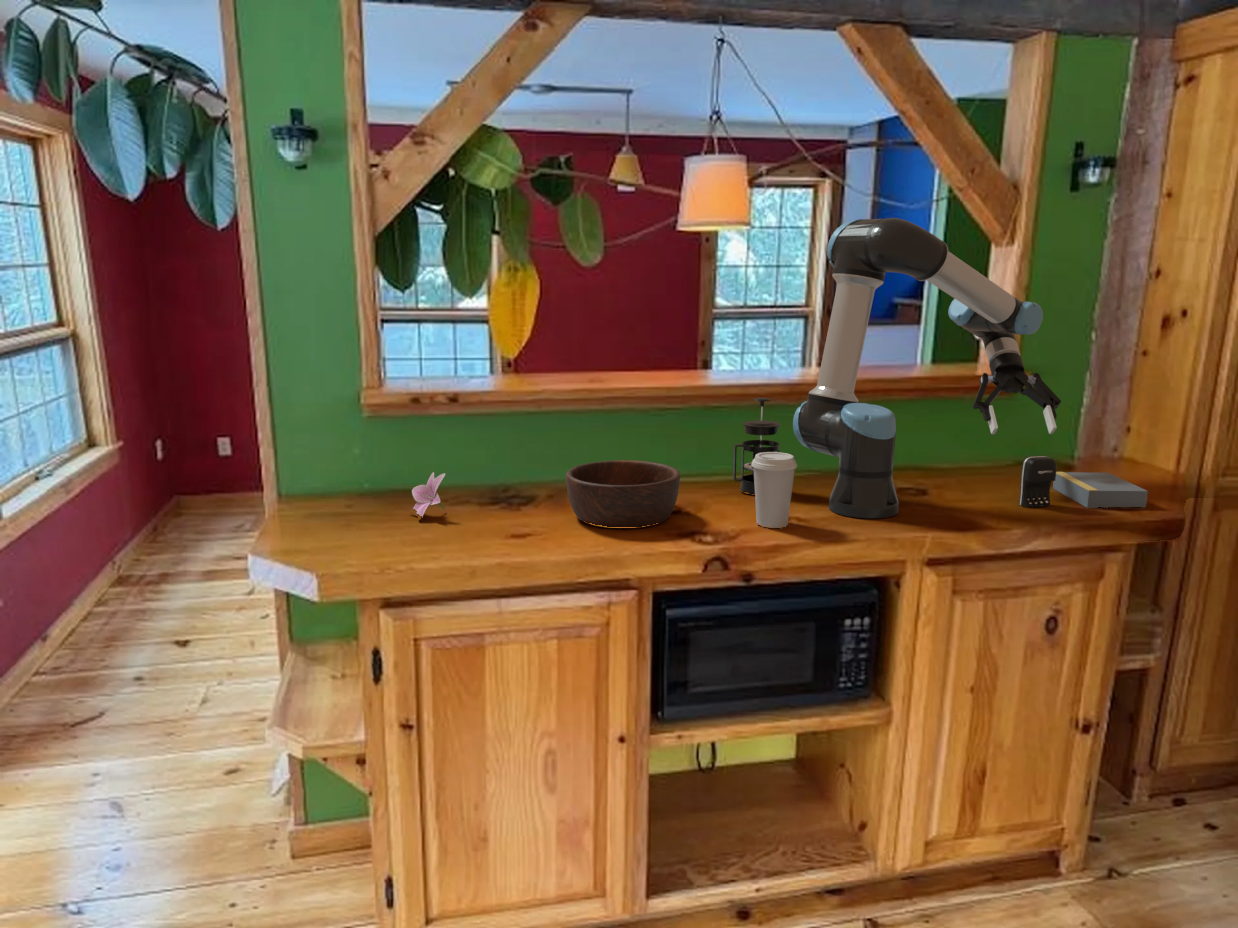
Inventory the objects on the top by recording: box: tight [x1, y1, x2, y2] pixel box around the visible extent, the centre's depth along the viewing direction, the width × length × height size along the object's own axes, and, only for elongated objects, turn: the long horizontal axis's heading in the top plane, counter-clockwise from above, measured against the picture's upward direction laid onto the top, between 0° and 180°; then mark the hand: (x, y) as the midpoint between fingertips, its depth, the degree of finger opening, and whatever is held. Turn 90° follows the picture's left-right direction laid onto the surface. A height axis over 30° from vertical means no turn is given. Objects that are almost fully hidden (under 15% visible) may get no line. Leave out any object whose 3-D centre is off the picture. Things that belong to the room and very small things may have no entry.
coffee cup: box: [751, 451, 798, 529], centre depth 189 cm, size 10×10×15 cm
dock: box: [1052, 471, 1149, 509], centre depth 211 cm, size 13×18×4 cm
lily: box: [411, 471, 446, 518], centre depth 198 cm, size 12×12×10 cm
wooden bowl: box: [565, 459, 681, 527], centre depth 196 cm, size 25×25×10 cm
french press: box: [732, 397, 781, 494], centre depth 216 cm, size 12×9×23 cm
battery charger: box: [1018, 455, 1057, 508], centre depth 203 cm, size 7×4×11 cm, turn 101°
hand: (1023, 431), depth 212 cm, fingers open, 13 cm apart
